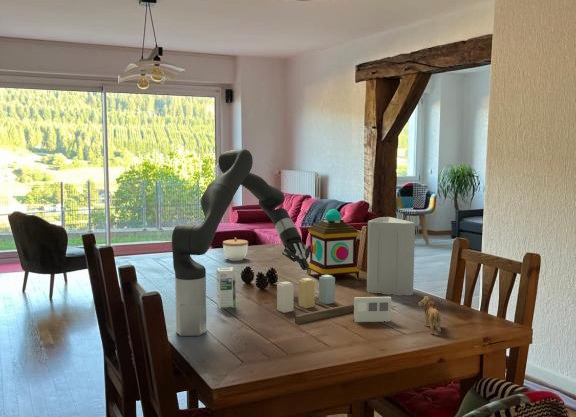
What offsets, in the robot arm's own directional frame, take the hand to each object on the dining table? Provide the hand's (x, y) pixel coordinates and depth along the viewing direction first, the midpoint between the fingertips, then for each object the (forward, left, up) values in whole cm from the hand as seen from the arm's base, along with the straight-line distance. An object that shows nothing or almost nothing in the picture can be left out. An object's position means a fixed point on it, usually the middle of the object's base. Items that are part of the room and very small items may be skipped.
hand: (306, 268), depth 210 cm
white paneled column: (+9, -32, -11) cm, 36 cm away
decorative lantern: (+34, -15, -11) cm, 40 cm away
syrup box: (-13, +30, -11) cm, 34 cm away
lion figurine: (-38, -35, -11) cm, 53 cm away
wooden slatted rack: (-19, 0, -11) cm, 22 cm away
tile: (-30, -18, -11) cm, 37 cm away
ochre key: (-15, +2, -10) cm, 18 cm away
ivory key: (-20, +9, -10) cm, 24 cm away
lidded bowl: (+75, +28, -11) cm, 81 cm away
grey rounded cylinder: (-11, -6, -10) cm, 16 cm away
